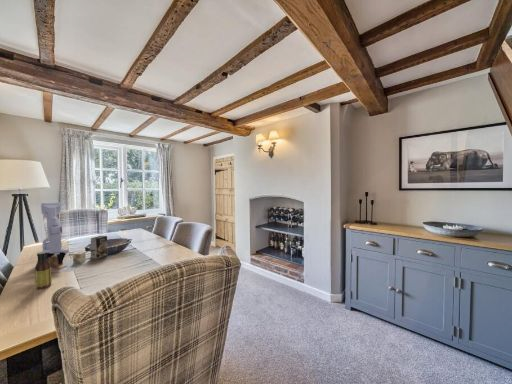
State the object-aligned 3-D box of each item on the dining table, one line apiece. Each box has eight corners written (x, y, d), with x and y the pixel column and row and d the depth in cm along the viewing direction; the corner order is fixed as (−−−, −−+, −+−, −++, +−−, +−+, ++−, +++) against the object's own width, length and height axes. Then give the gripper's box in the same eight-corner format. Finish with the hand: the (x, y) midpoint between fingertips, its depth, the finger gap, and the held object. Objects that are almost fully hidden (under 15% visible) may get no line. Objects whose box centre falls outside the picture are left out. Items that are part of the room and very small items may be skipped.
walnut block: (48, 267, 142) (48, 257, 141) (54, 265, 147) (54, 254, 146) (57, 267, 142) (56, 257, 142) (62, 264, 147) (62, 254, 147)
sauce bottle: (42, 284, 124) (42, 250, 123) (54, 284, 124) (53, 250, 124) (32, 290, 117) (31, 254, 116) (44, 289, 118) (43, 254, 117)
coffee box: (97, 259, 164) (97, 238, 164) (90, 258, 166) (90, 238, 165) (107, 255, 173) (107, 235, 173) (101, 254, 175) (100, 235, 174)
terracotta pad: (44, 271, 140) (44, 270, 140) (54, 266, 148) (54, 265, 148) (57, 270, 141) (57, 270, 141) (66, 266, 149) (66, 265, 149)
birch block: (73, 263, 154) (73, 254, 153) (78, 261, 159) (77, 251, 158) (80, 263, 154) (80, 253, 154) (85, 261, 159) (85, 251, 159)
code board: (41, 273, 139) (41, 272, 138) (66, 260, 160) (66, 260, 160) (70, 272, 141) (70, 271, 141) (91, 260, 162) (91, 259, 162)
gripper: (38, 245, 139) (38, 266, 139) (62, 245, 141) (63, 265, 141) (47, 242, 146) (47, 262, 146) (70, 242, 148) (71, 261, 148)
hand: (55, 263), depth 144 cm, fingers closed on walnut block, 5 cm apart
